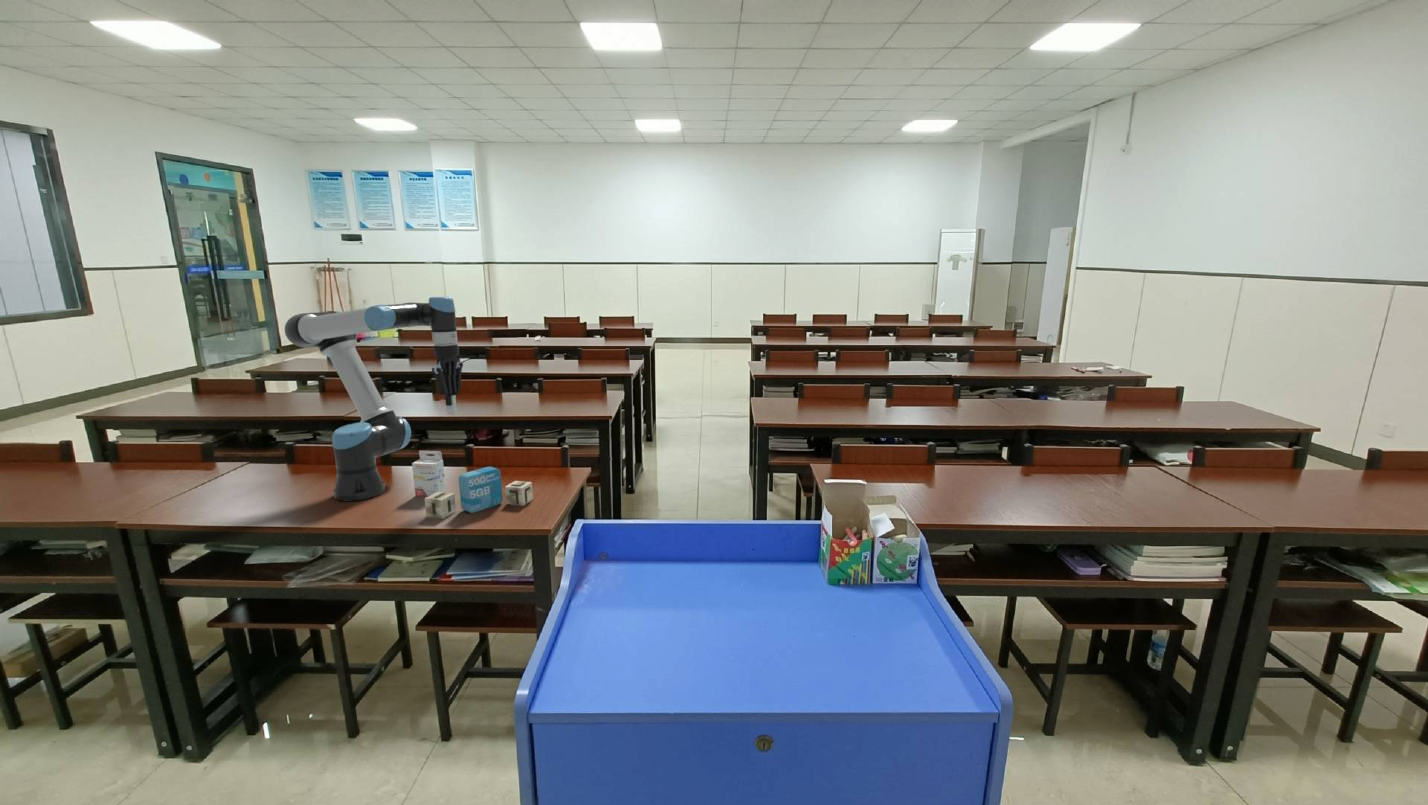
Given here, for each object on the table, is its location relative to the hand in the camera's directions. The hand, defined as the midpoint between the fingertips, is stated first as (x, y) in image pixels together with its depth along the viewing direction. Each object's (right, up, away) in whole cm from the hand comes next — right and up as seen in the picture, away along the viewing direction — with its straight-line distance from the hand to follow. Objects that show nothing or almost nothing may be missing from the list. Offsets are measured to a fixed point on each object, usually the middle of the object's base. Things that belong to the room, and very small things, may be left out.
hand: (452, 414), depth 208 cm
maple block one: (+4, -31, -17) cm, 35 cm away
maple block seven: (+25, -28, -7) cm, 38 cm away
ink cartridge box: (-7, -27, 0) cm, 28 cm away
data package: (+14, -30, -11) cm, 35 cm away
